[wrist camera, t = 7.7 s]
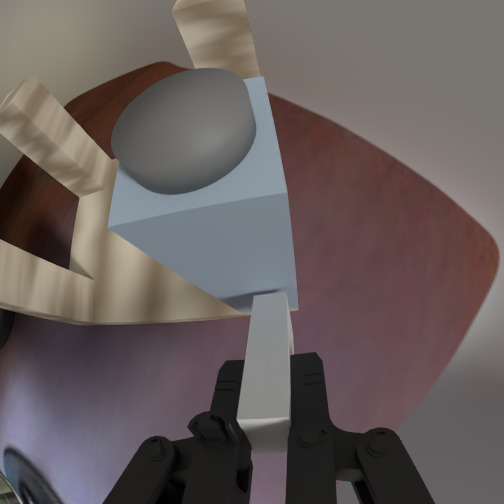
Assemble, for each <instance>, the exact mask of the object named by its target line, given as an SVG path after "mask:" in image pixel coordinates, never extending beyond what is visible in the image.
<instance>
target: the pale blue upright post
mask: <svg viewBox="0 0 504 504" xmlns="http://www.w3.org/2000/svg"><path fill="white" fill-rule="evenodd" d="M111 148H112V151H113V154H114V155H115V157H116V158H117V159H118V161H119V166H118V170H117V175H116V180H115V185H114V190H113V196H112V201H111V208H110V214H109V221H108V228H109V229H110V230H112V231H113V232H115V233H116V234H118V235H119V236H121V237H122V238H123V239H125V240H126V241H128V242H129V243H131V244H132V245H134V246H135V247H137V248H138V249H140V250H141V251H143V252H144V253H146V254H147V255H149V256H150V257H152V258H153V259H155V260H156V261H158V262H159V263H161V264H162V265H164V266H165V267H167V268H168V269H170V270H172V271H173V272H175V273H176V274H178V275H179V276H181V277H183V278H184V279H186V280H187V281H189V282H191V283H192V284H194V285H195V286H197V287H199V288H200V289H202V290H203V291H205V292H207V293H208V294H210V295H212V296H213V297H215V298H217V299H218V300H220V301H222V302H223V303H225V304H227V305H228V306H230V307H232V308H234V309H235V310H237V311H239V312H240V313H252V306H253V299H254V296H256V295H264V294H272V293H280V292H286V293H287V299H288V306H289V308H293V307H298V297H297V284H296V273H295V261H294V251H293V241H292V231H291V221H290V212H289V203H288V195H287V188H286V183H285V177H284V172H283V167H282V161H281V156H280V151H279V146H278V141H277V136H276V131H275V126H274V122H273V117H272V112H271V108H270V103H269V99H268V94H267V90H266V86H265V81H264V77H263V76H260V77H254V78H249V79H243V80H242V78H241V77H239V76H238V75H237V74H235V73H233V72H231V71H228V70H224V69H219V68H198V69H192V70H187V71H183V72H180V73H177V74H174V75H171V76H169V77H167V78H165V79H163V80H161V81H159V82H157V83H155V84H153V85H152V86H150V87H149V88H147V89H146V90H144V91H143V92H142V93H141V94H139V95H138V96H137V97H136V98H135V99H134V100H133V101H132V102H131V103H130V104H129V105H128V106H127V107H126V108H125V110H124V111H123V112H122V114H121V115H120V117H119V118H118V120H117V122H116V124H115V127H114V129H113V132H112V137H111Z"/></svg>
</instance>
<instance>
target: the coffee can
mask: <svg viewBox="0 0 504 504" xmlns="http://www.w3.org/2000/svg"><path fill="white" fill-rule="evenodd" d="M0 504H23V502H22V500H21V499H20V497H19V495H18V494H17V492H16V490H15V489H14V488H13V486H12V485H11V483H10V482H9V481H8V480H7V479H6V478H5V476H4V475H2V474H1V473H0Z"/></svg>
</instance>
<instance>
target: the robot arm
mask: <svg viewBox="0 0 504 504" xmlns="http://www.w3.org/2000/svg"><path fill="white" fill-rule="evenodd" d="M13 315H14V311H11V310H7V309H3V308H0V349H1V348H2V347H3V345H4V344H5V342H6V340H7V338H8V336H9V333H10V329H11V325H12V321H13ZM187 427H188V429H189V430H190V431H191V432H192V434H193V435H194V437H191V438H187V439H182V440H177V441H170V440H168V439H167V438H165V437H162V436H154V437H150V438H148V439H146V440H145V441H144V442H143V443H142V444H141V446H140V447H139V449H138V450H137V452H136V453H135V455H134V456H133V458H132V460H131V461H130V463H129V464H128V466H127V467H126V469H125V470H124V472H123V473H122V475H121V476H120V478H119V479H118V481H117V483H116V484H115V486H114V487H113V489H112V490H111V492H110V493H109V495H108V496H107V498H106V499H105V501H104V502H103V504H249V501H250V491H251V481H252V471H253V464H252V461H251V449H252V450H253V452H254V453H270V452H287V479H286V503H285V504H337V498H336V480H341V481H350V482H351V483H352V486H353V488H354V491H355V493H356V496H357V498H358V501H359V503H360V504H435V503H434V501H433V499H432V497H431V495H430V493H429V491H428V489H427V488H426V486H425V484H424V482H423V480H422V478H421V476H420V475H419V473H418V471H417V469H416V467H415V465H414V463H413V462H412V460H411V458H410V457H409V454H408V453H407V451H406V449H405V447H404V445H403V444H402V442H401V440H400V438H399V437H398V435H397V434H396V433H395V432H394V431H392V430H390V429H388V428H379V427H378V428H375V429H371V430H369V431H367V432H366V433H364V434H363V433H354V432H347V431H343V430H341V429H339V428H337V427H336V426H335V425H334V424H333V423H332V421H331V420H330V417H329V411H328V402H327V393H326V385H325V378H324V370H323V363H322V360H321V359H320V357H319V356H318V355H317V353H316V352H312V353H304V354H296V355H294V350H293V333H292V326H291V319H290V312H289V306H288V299H287V293H286V292H280V293H272V294H264V295H256V296H254V299H253V306H252V313H251V321H250V328H249V335H248V342H247V349H246V356H245V360H230V361H226V362H225V363H224V364H223V366H222V367H221V368H220V370H219V373H218V377H217V383H216V386H215V392H214V395H213V399H212V404H211V408H210V411H208V412H203V413H200V414H198V415H196V416H195V417H194V418H193V419H192V420H191V421H190V423H189V425H188V426H187Z"/></svg>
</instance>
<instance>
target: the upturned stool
mask: <svg viewBox="0 0 504 504" xmlns="http://www.w3.org/2000/svg"><path fill="white" fill-rule="evenodd" d="M172 14H173V16H174V19H175V21H176V23H177V26H178V28H179V30H180V33H181V35H182V37H183V40H184V42H185V45H186V47H187V49H188V52H189V54H190V57H191V59H192V61H193V64H194V66H195V69H198V68H219V69H224V70H228V71H231V72H233V73H235V74H237V75H238V76H239V77H241V78H242V80H243V79H249V78H254V77H260V71H259V67H258V62H257V58H256V53H255V49H254V43H253V39H252V34H251V30H250V26H249V21H248V17H247V13H246V9H245V5H244V1H243V0H177V2H176V4H175V6H174V8H173V10H172ZM0 133H1V134H2V135H3V136H4V137H6V138H7V139H8V140H9V141H10V142H11V143H13V144H14V145H15V146H16V147H17V148H18V149H19V150H21V151H22V152H23V153H24V154H25V155H27V156H28V157H29V158H30V159H31V160H33V161H34V162H35V163H36V164H38V165H39V166H40V167H41V168H42V169H44V170H45V171H46V172H47V173H49V174H50V175H51V176H52V177H54V178H55V179H56V180H58V181H59V182H60V183H61V184H63V185H64V186H65V187H67V188H68V189H69V190H70V191H72V192H73V193H74V194H76V195H77V196H78V197H80V200H79V205H78V210H77V215H76V221H75V227H74V233H73V240H72V247H71V255H70V264H69V270H67V269H65V268H62V267H60V266H57V265H55V264H53V263H50V262H48V261H46V260H44V259H41V258H39V257H37V256H35V255H32V254H30V253H28V252H26V251H24V250H21V249H19V248H17V247H15V246H13V245H11V244H9V243H7V242H5V241H3V240H1V239H0V308H3V309H7V310H11V311H15V312H19V313H23V314H27V315H31V316H36V317H40V318H45V319H50V320H55V321H60V322H65V323H71V324H76V325H126V324H153V323H172V322H188V321H202V320H214V319H225V318H236V317H246V316H251V313H240V312H239V311H237V310H235V309H234V308H232V307H230V306H228V305H227V304H225V303H223V302H222V301H220V300H218V299H217V298H215V297H213V296H212V295H210V294H208V293H207V292H205V291H203V290H202V289H200V288H199V287H197V286H195V285H194V284H192V283H191V282H189V281H187V280H186V279H184V278H183V277H181V276H179V275H178V274H176V273H175V272H173V271H172V270H170V269H168V268H167V267H165V266H164V265H162V264H161V263H159V262H158V261H156V260H155V259H153V258H152V257H150V256H149V255H147V254H146V253H144V252H143V251H141V250H140V249H138V248H137V247H135V246H134V245H132V244H131V243H129V242H128V241H126V240H125V239H123V238H122V237H121V236H119V235H118V234H116V233H115V232H113V231H112V230H110V229H109V228H108V221H109V214H110V208H111V201H112V196H113V190H114V185H115V180H116V175H117V170H118V166H119V161H118V159H117V158H116V159H113V160H111V159H110V158H109V157H108V156H107V155H106V154H105V153H104V151H103V150H102V149H101V148H100V147H99V146H98V145H97V144H96V143H95V142H94V141H93V140H92V139H91V138H90V137H89V136H88V134H87V133H86V132H85V131H84V130H83V129H82V128H81V127H80V126H79V125H78V124H77V123H76V121H75V120H74V119H73V118H72V117H71V116H70V115H69V114H68V113H67V112H66V110H65V109H64V108H63V107H62V106H61V105H60V104H59V103H58V102H57V100H56V99H55V98H54V97H53V96H52V95H51V94H50V92H49V91H48V90H47V89H46V88H45V87H44V86H43V84H42V83H41V82H40V81H39V80H38V79H37V77H36V76H35V75H34V74H33V73H32V74H31V75H30V76H29V77H27V78H26V79H25V80H24V81H22V82H21V83H20V84H19V85H18V86H17V87H16V88H14V89H13V90H12V91H11V92H10V93H9V94H8V95H7V97H6V98H5V100H4V102H3V103H2V104H1V106H0ZM296 310H298V307H293V308H289V311H296Z"/></svg>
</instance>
